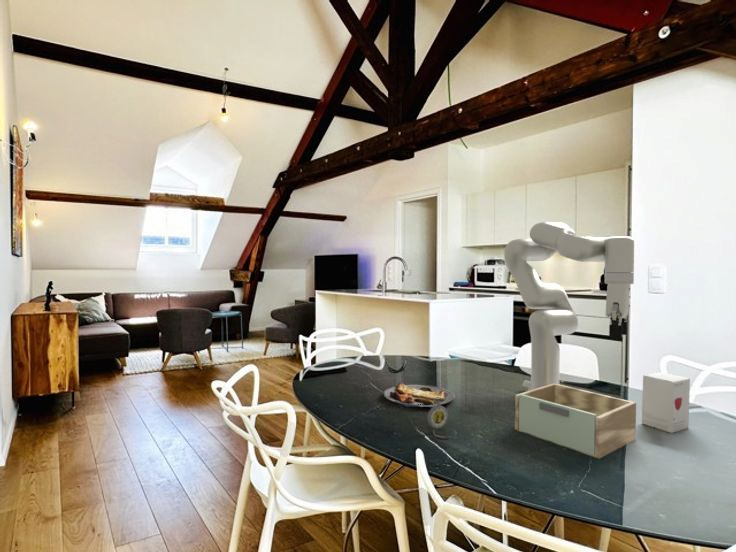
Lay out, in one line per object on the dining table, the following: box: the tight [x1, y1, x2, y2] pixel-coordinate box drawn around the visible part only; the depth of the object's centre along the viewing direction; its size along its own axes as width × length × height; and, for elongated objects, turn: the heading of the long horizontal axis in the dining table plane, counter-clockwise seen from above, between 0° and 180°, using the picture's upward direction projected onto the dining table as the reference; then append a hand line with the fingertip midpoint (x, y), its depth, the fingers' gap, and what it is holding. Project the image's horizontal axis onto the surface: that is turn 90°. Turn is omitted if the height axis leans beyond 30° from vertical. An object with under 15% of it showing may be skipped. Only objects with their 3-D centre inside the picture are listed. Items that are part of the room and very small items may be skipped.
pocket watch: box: [427, 397, 458, 440], centre depth 130 cm, size 8×8×10 cm
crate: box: [514, 383, 637, 460], centre depth 127 cm, size 24×20×11 cm
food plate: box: [382, 382, 456, 408], centre depth 163 cm, size 25×23×4 cm
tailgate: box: [519, 393, 597, 457], centre depth 121 cm, size 21×2×10 cm, turn 37°
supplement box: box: [641, 371, 691, 434], centre depth 136 cm, size 9×9×15 cm
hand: (618, 336), depth 135 cm, fingers open, 9 cm apart
